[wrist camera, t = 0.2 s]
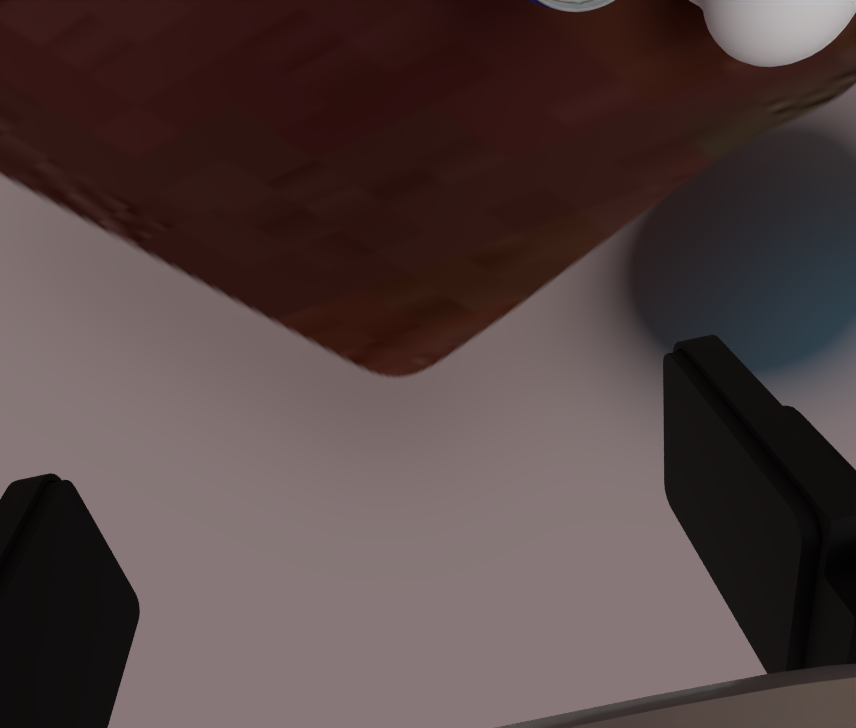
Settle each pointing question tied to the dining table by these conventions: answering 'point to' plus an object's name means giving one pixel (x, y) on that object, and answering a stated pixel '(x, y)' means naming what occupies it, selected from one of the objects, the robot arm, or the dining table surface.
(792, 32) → the lightbulb
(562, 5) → the beverage can
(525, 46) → the dining table surface
